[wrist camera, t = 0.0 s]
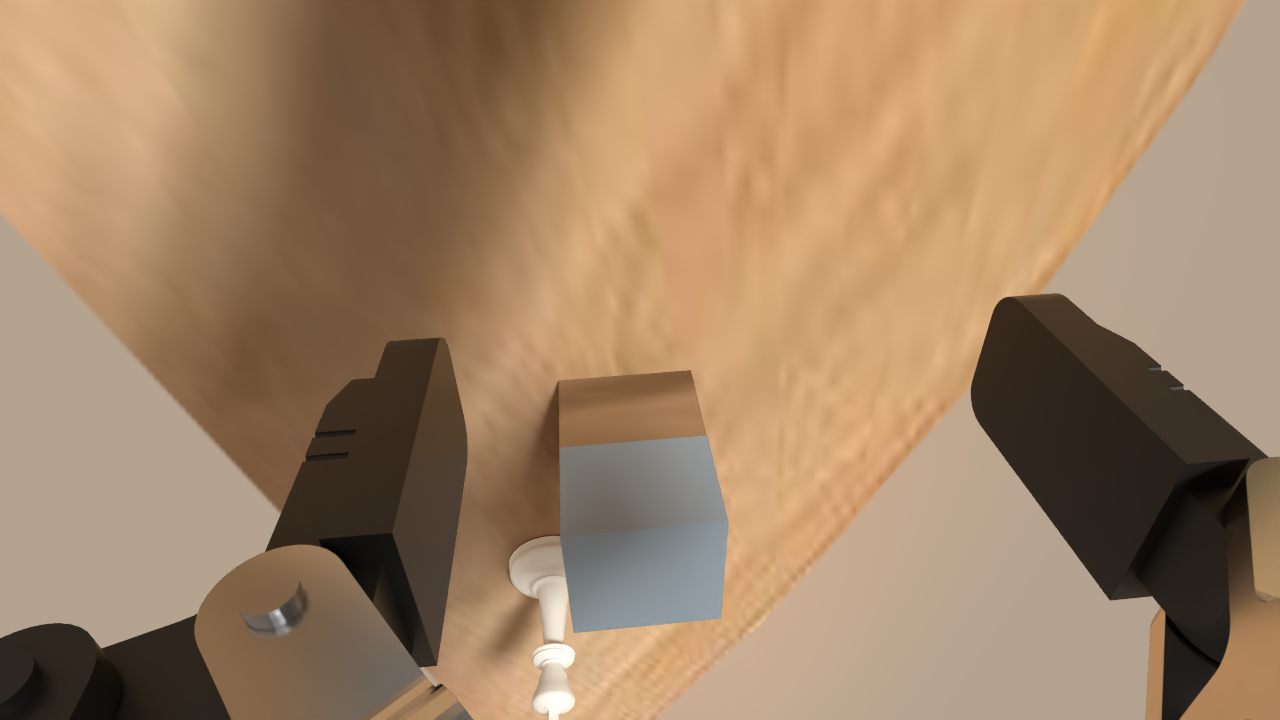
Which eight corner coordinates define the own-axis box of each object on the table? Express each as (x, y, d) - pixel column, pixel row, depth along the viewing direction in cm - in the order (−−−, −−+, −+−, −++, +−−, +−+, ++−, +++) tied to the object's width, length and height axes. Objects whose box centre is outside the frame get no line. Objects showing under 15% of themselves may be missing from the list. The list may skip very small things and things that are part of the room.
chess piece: (510, 534, 38) (498, 721, 30) (602, 535, 39) (614, 719, 31) (507, 590, 41) (496, 775, 33) (592, 590, 42) (601, 771, 34)
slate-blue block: (559, 447, 29) (559, 536, 25) (707, 435, 29) (728, 521, 26) (571, 542, 33) (573, 632, 29) (703, 530, 33) (721, 618, 29)
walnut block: (558, 379, 32) (559, 448, 29) (690, 368, 33) (707, 436, 29) (570, 472, 36) (571, 544, 33) (688, 462, 36) (702, 532, 33)
